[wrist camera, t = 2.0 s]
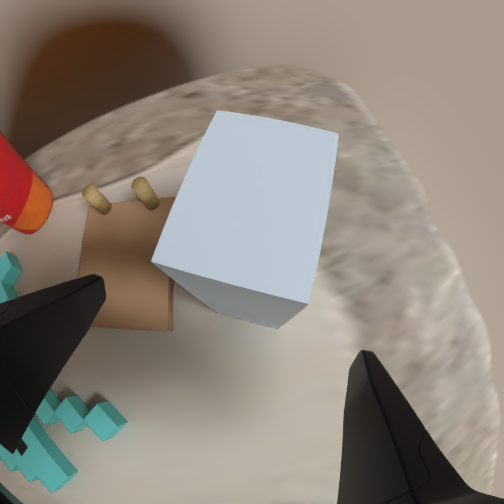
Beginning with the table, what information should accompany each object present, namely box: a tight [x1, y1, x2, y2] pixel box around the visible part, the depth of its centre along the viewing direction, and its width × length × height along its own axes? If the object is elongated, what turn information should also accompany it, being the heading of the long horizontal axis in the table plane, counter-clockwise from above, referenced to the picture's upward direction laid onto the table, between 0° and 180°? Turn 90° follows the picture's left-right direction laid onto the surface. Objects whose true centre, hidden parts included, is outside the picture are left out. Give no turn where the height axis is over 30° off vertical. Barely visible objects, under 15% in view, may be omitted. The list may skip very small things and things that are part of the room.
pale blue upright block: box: [151, 110, 339, 329], centre depth 14 cm, size 6×4×12 cm
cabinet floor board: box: [78, 177, 175, 331], centre depth 19 cm, size 10×8×4 cm
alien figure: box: [0, 251, 127, 493], centre depth 16 cm, size 20×2×20 cm
